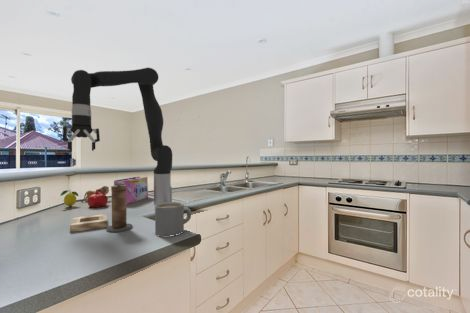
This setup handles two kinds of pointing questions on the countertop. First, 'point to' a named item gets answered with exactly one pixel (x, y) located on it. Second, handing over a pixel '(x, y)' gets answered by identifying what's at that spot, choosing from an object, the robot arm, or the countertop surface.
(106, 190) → the lion figurine
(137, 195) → the gum box
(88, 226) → the holder
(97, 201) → the pomegranate
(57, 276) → the countertop surface
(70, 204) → the lemon
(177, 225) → the coffee mug
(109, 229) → the coaster
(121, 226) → the pepper mill
